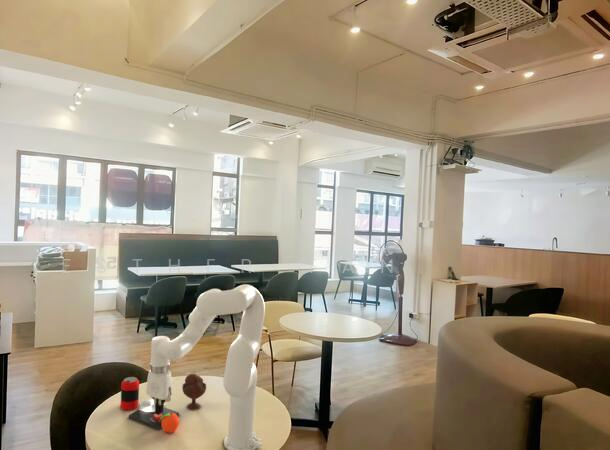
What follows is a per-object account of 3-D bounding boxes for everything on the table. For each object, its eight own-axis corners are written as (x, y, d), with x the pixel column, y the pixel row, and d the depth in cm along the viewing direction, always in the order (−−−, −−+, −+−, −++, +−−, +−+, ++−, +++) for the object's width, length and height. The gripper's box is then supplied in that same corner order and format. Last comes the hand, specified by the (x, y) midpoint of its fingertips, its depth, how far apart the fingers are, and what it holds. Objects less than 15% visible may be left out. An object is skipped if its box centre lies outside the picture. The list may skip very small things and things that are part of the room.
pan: (169, 405, 160) (169, 403, 160) (152, 416, 150) (152, 414, 150) (150, 398, 165) (150, 396, 165) (132, 409, 155) (132, 407, 155)
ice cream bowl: (201, 414, 159) (203, 380, 159) (177, 410, 161) (178, 376, 161) (208, 402, 169) (210, 370, 169) (185, 399, 172) (187, 367, 171)
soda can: (117, 409, 160) (118, 381, 160) (126, 401, 168) (127, 375, 168) (132, 412, 159) (133, 384, 158) (141, 403, 166) (142, 377, 166)
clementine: (159, 438, 141) (160, 419, 141) (157, 428, 147) (157, 410, 147) (180, 434, 144) (181, 416, 144) (176, 425, 150) (177, 407, 150)
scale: (179, 415, 157) (179, 408, 157) (158, 431, 145) (158, 423, 145) (150, 405, 165) (150, 398, 165) (127, 419, 153) (128, 411, 153)
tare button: (163, 418, 150) (163, 414, 150) (158, 421, 147) (158, 418, 147) (157, 415, 151) (157, 412, 151) (152, 419, 149) (152, 415, 149)
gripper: (139, 367, 149) (138, 412, 149) (168, 375, 142) (167, 422, 142) (152, 361, 156) (151, 404, 156) (180, 368, 149) (179, 413, 149)
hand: (159, 412), depth 149 cm, fingers closed
